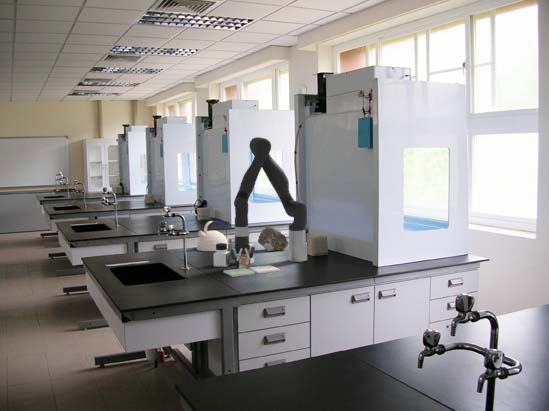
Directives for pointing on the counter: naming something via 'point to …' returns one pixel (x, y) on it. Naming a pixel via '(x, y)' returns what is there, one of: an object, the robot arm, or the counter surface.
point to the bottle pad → (239, 272)
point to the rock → (272, 239)
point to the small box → (249, 253)
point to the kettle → (210, 238)
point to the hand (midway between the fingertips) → (242, 266)
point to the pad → (264, 269)
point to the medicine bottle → (221, 255)
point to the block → (243, 262)
